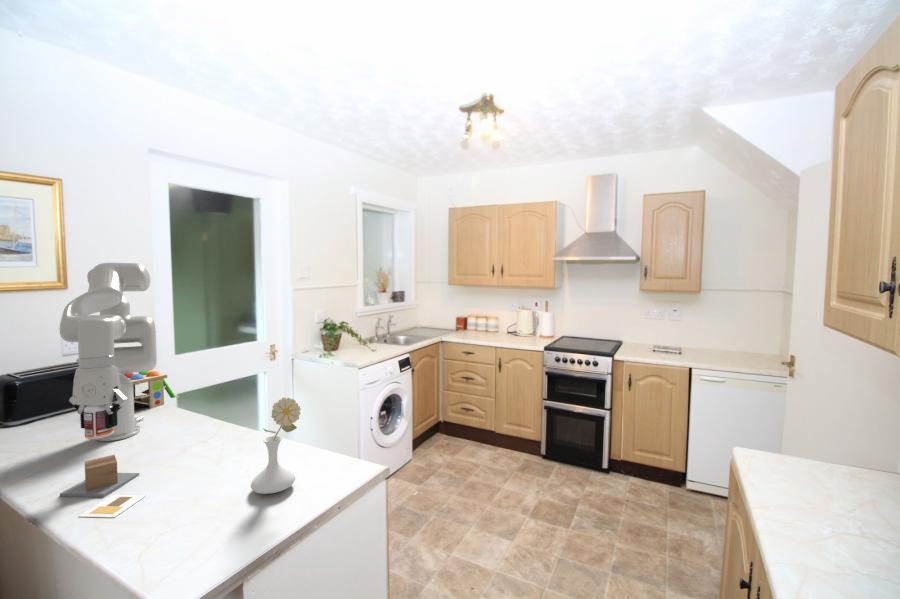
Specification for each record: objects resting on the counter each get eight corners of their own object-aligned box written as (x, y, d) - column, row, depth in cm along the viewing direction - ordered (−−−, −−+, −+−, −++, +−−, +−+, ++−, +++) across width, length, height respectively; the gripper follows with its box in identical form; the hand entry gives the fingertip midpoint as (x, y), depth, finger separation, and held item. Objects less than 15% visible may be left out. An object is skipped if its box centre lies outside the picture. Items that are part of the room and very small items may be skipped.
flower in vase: (249, 502, 107) (248, 407, 106) (251, 482, 118) (249, 395, 117) (303, 492, 113) (301, 401, 111) (300, 473, 123) (299, 390, 122)
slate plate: (99, 475, 122) (99, 472, 122) (139, 475, 121) (139, 473, 121) (59, 496, 110) (59, 493, 110) (104, 497, 109) (104, 494, 109)
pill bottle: (116, 430, 119) (115, 392, 118) (110, 437, 113) (109, 398, 113) (89, 433, 116) (87, 395, 116) (81, 441, 111) (79, 400, 110)
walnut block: (85, 482, 116) (84, 461, 115) (115, 474, 120) (114, 454, 120) (86, 491, 111) (85, 469, 111) (117, 482, 115) (116, 461, 115)
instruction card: (112, 495, 110) (112, 494, 110) (146, 496, 110) (146, 495, 110) (78, 516, 100) (78, 516, 100) (114, 517, 100) (114, 516, 100)
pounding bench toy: (169, 400, 196) (168, 363, 195) (189, 404, 190) (188, 365, 189) (113, 414, 175) (112, 372, 174) (133, 419, 169) (131, 376, 168)
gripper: (53, 365, 110) (55, 431, 111) (116, 365, 110) (118, 432, 111) (78, 359, 118) (81, 421, 119) (138, 360, 117) (140, 422, 118)
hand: (99, 426), depth 115 cm, fingers closed on pill bottle, 6 cm apart
